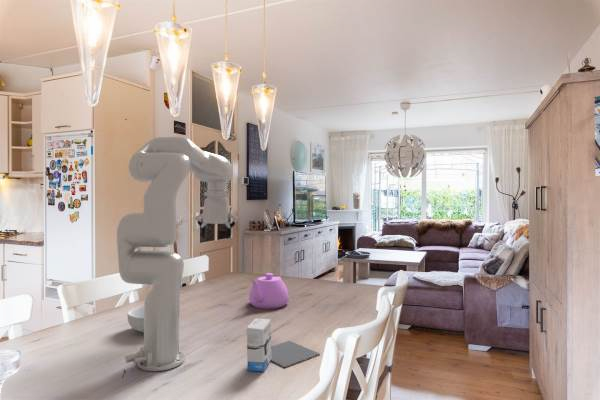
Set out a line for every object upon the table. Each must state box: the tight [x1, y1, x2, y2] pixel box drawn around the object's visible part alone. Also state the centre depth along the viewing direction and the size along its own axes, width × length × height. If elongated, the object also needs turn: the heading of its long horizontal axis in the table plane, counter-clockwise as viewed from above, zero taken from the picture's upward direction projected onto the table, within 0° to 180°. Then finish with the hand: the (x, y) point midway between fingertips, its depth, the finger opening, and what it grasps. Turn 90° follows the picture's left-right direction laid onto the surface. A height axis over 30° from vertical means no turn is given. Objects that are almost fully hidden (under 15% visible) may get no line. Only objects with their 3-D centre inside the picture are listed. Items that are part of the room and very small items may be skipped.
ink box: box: [246, 317, 272, 372], centre depth 109 cm, size 8×5×12 cm, turn 168°
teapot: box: [248, 272, 290, 310], centre depth 172 cm, size 25×18×14 cm
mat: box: [270, 340, 321, 368], centre depth 117 cm, size 14×14×1 cm
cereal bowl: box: [127, 305, 144, 334], centre depth 137 cm, size 17×17×7 cm
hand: (216, 237), depth 154 cm, fingers open, 9 cm apart
